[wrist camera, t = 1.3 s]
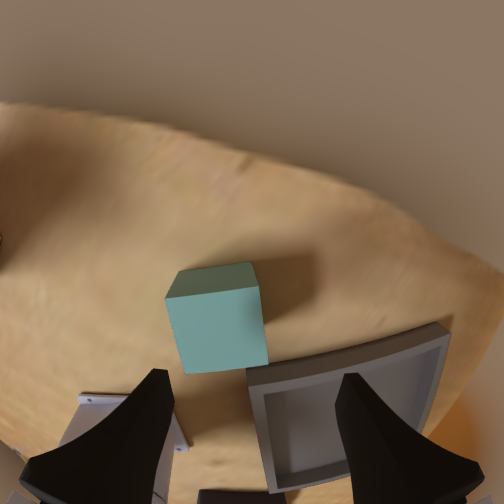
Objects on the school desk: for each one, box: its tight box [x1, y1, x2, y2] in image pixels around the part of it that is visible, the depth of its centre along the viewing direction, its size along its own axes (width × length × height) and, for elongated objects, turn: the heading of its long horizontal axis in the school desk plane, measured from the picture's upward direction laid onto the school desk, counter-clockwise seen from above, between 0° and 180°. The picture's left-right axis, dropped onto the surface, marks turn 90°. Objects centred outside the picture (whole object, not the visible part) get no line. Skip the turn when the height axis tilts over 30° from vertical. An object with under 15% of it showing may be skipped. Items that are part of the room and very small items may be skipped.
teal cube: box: [165, 262, 268, 374], centre depth 18 cm, size 5×5×5 cm
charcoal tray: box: [246, 322, 451, 494], centre depth 23 cm, size 18×18×2 cm
